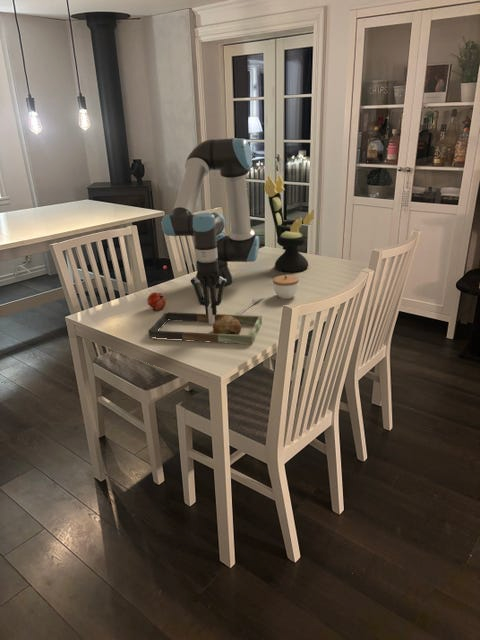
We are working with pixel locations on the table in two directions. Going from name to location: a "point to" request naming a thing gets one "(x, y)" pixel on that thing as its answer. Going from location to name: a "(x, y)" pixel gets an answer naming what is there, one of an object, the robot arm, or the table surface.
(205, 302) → the robot arm
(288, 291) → the lidded jar
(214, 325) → the bread roll
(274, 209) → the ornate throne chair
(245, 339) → the multicolored rectangular frame
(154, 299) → the pomegranate
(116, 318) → the table surface
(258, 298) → the fork
